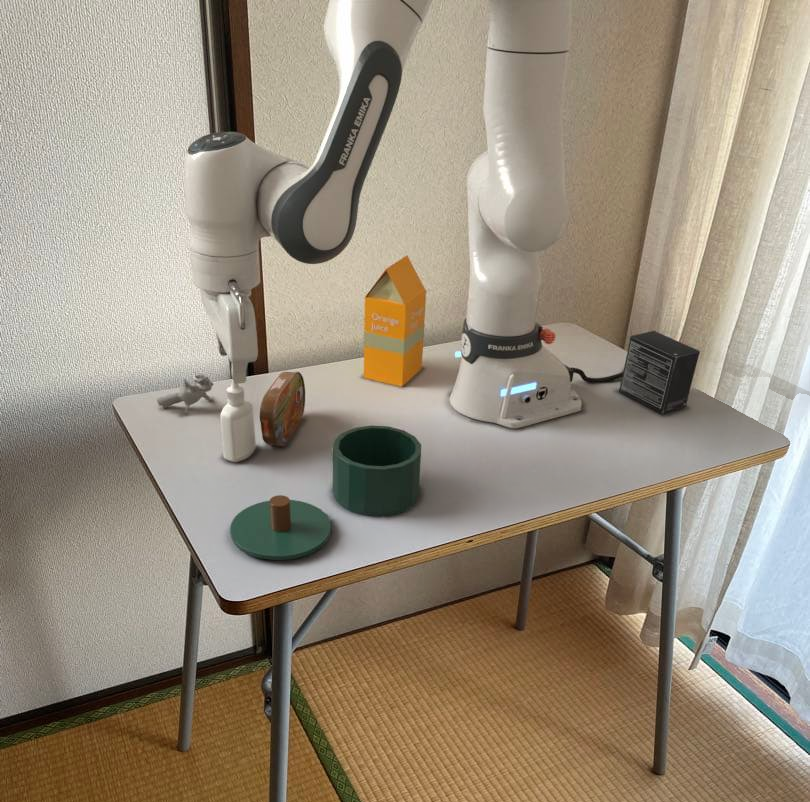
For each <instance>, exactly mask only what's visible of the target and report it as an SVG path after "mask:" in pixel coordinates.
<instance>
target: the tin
mask: <svg viewBox="0 0 810 802" xmlns="http://www.w3.org/2000/svg"><path fill="white" fill-rule="evenodd" d="M305 406H306V386H305V379H304V377H303V375H302V373H301V372H300V371H283V372H281V373H280V374H279V375H278V376H277V378H276V379H275V380H274V382H273V383H272V384H271V386H270V387H269V388H268V389H267V390H266V392H265V394H264V396H263V397H262V399H261V404H260V408H259V422H260V430H261V438H262V441H263V442H264V443H265V444H266V445H271V446H279V447H284V446H286V445H287V443H288V442H289V440H290V439H291V437H292V436H293V434H294V432H296V430H297V428H298V426H299V425H300V423H301V421H302V419H303V416H304V413H305Z"/></svg>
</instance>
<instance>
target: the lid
mask: <svg viewBox="0 0 810 802" xmlns="http://www.w3.org/2000/svg"><path fill="white" fill-rule="evenodd" d="M229 533H230V538H231V540H232V542H233V544H234V545H235V546H236V547H237V548H238V550H240V551H242V552H243V553H245V554H247V555H250V556H252V557H254V558H255V557H256V558H260V559H264V560H272V561H275V560H276V561H281V560H282V561H283V560H292V559H297V558H302V557H304V556H308V555H310V554H312V553H314V552H316V551H318V550H319V549H320V548H322V547H323V546H324V545H325V544H326V543H327V541H328V540H329V538H330V536H331V533H332V523H331V520H330V518H329V516H328V515H327V513H325V512H324V511H323V510H322V509H321V508H319V507H318V506H316V505H314V504H312V503H309V502H305V501H302V500H295V499H290V498H289V497H288V496H286V495H282V494H280V495H274V496H272V497H271V498H269V500H265V501H261V502H257V503H255V504H252V505H249V506H247V507H246V508H244V509H243V510H241V511H240V512H238V513H237V514H236V516H235V517H234V518H233V520H232V521H231V523H230V527H229Z"/></svg>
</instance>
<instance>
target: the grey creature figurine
mask: <svg viewBox="0 0 810 802" xmlns="http://www.w3.org/2000/svg"><path fill="white" fill-rule="evenodd" d="M196 373H197V372H196V371H194V373H193V376H192V379H193V381H194V383H196V384H190V383H189V382H188V381H187V379H186V378H184V379H183V384H184V385H183V386H180V388H179V391H178V392H174V393H171V394H170V393H169V394H166V395H163V396H160V397H159V396H157V397H156V402H157V404H158V406H159V407H162V409H166V408H168V407H171V406H173V405H175V404H179V403H183V402H184V404H185V411H184V413H183V415H186V413H187V411H188V409H189V407H190V406H193V405H194V404H195V403H198V401H200V400H201V399H203V398H204V399H205V400H206V401H211V397H210V396H209V395H208V394H207V392H210V391H211V390H212V388H213V386H214V383H213V382H212V381H211V380H210V378H209V377H208V376H205V375H204V374H201V373H198V374H197V375H196ZM197 384H198V385H197Z"/></svg>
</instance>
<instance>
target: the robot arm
mask: <svg viewBox="0 0 810 802" xmlns="http://www.w3.org/2000/svg"><path fill="white" fill-rule="evenodd" d="M432 3H433V0H329V2H328V5H327V8H326V13H325V17H324V21H323V33H324V34H323V35H324V39H325V43H326V47H327V50H328V52H329V55H330V56H331V58H332V60H333V62H334V64H335V67H336V70H337V75H338V82H339V89H338V90H339V91H338V96H337V97H338V98H337V102H336V104H335V108H334V110H333V113H332V115H331V118H330V121H329V123H328V126H327V129H326V131H325V134H324V136H323V139H322V141H321V144H320V147H319V149H318V151H317V155H316V157H315V159H314V161H313V163H312V164H311V166H310V167H308V166H306V165H305V164H303V163H301V162H300V161H298V160H295V159H293V158H290V157H286V156H283V155H279V154H276V153H274V152H271V151H269V150H267V149H265V148H264V147H262V146H260V145H258V144H257V143H256V142H254V141H252V140H251V139H249V138H248V137H247V136H246V135H245V134H244V133H241V132H237V131H218V132H213V133H208V134H206V135H203V136H200V137H198V138H197V139H196V140H194V141H192V142H191V143H190V145H189V146H188V148H187V149H186V153H185V159H184V169H183V170H184V172H183V175H184V176H183V179H184V180H183V181H184V203H185V212H186V213H185V214H186V216H187V219H188V221H189V225H190V235H189V241H188V249H189V260H190V269H191V270H190V271H191V272H190V273H191V282H192V284H193V285H194V286H195V288H198V289H199V290H200V298H201V302H202V306H203V309H204V312H205V314H206V315H207V317H208V319H209V321H210V323H211V326H212V327H213V330H214V332H215V337H216V341H217V350H218V353H219V354H220V356H222V357H225V356H227V357H228V359H229V362H231V367H230V377H231V379H232V380H233V382H234V383H236V384H238V385H239V384H244V383H246V382H247V370H248V365H249V363H255V362H256V361H257V360H258V356H259V346H258V333H257V322H256V315H255V309H254V305H253V303H252V301H251V299H250V298H249V297H251V295H252V289H255V288H256V287H258V285H259V284H260V283H261V269H260V250H259V249H260V246H259V242H260V240H261V239H263V238H269V237H272V238H273V239H274V240H276V241H277V243H278V244H279V245H280V246H281V247H282V248H283V250H284V251H285V252H286V253H287V254H288V255H289V256H290V257H291V258H293V259H294V260H296V261H297V262H300V263H302V264H308V265H319V264H324V263H326V262H329V261H331V260H333V259H334V258H336V257H338V256H339V255H340V254H341V253H342V252H343V251H344V250H345V249H346V248H347V247H348V245H349V243H350V242H351V240H352V239H353V236H354V233H355V230H356V226H357V222H358V221H357V219H358V211H359V203H360V197H361V193H362V190H363V187H364V183H365V181H366V178H367V176H368V173H369V171H370V168H371V166H372V163H373V160H374V158H375V156H376V153H377V151H378V147H379V145H380V143H381V140H382V138H383V135H384V132H385V130H386V127H387V125H388V122H389V121H390V120H389V119H390V117H391V115H392V112H393V108H394V107H395V104H396V101H397V98H398V94H399V91H400V87H401V82H402V79H403V73H404V69H405V65H406V63H407V59H408V56H409V54H410V51H411V49H412V47H413V44H414V42H415V40H416V37H417V35H418V34H419V31H420V29H421V27H422V24H423V23H424V20H425V18H426V16H427V15H428V11H429V10H430V7H431V6H432ZM487 4H488V9H489V24H488V32H487V45H486V60H485V74H484V75H485V77H484V90H483V102H482V112H483V119H484V123H485V124H484V125H485V131H486V144H487V150H486V151H484V152H482V153H481V154H479V155H478V156H477V157H476V158H475V159H474V161H473V162H472V164H471V165H470V167H469V169H468V172H467V174H466V193H467V216H468V217H467V226H468V227H467V228H468V231H467V232H468V250H469V251H468V252H469V283H468V296H467V306H466V309H467V310H466V317H465V319H464V320H463V324H462V333H461V339H460V351H455V353H454V356H455V358H460V364H459V368H458V372H457V376H456V380H455V383H454V386H453V387H452V388H453V389H452V391H451V393H450V396H449V400H448V401H449V404H450V406H451V407H452V408H453V409H454V410H455V411H457V413H459V414H461V415H463V416H465V417H468V418H471V419H474V420H477V421H482V422H487V423H492V424H493V423H494V424H498V425H499V426H503V427H506V428H510V429H519V428H523V427H527V426H530V425H534V424H538V423H541V422H545V421H550V420H552V419H557V418H560V417H563V416H567V415H570V414H575V413H578V412H581V411H582V408H583V407H582V406H583V405H582V404H583V403H582V398H581V397H580V395H579V394H578V393H577V391H576V390H575V389H573V388H572V387H571V383H572V382H573V379H574V374H576V375H579V376H580V378H581V379H582V381H584V382H587V383H591V384H595V383H607V382H612V381H615V380H618V379H622V376H623V371H624V369H623V370H622V371H621V372H619V373H616V374H612V375H609V376H603V377H589V376H587V375H586V373H585V372H584V370H582V369H580V368H577V367H570V366H568V365H566V364H564V363H563V362H562V361H561V359H560V358H558V357H557V356H556V355H554V353H552V352H551V351H550V350H549V349H548V348H547V347H545V346H544V345H543V343H542V341H543V342H544V343H545V344H546V345H552V344H554V342H555V341H556V338H557V336H556V333H555V332H554V331H551V330H550V329H549V328H544V327H543V325H541V324H539V323H538V322H536V320H537V313H538V306H539V299H540V291H541V283H542V272H541V267H540V263H539V252H541V251H544V250H547V249H548V248H550V247H552V246H553V245H555V243H557V242H558V241H559V240H560V239H561V237H562V236H563V234H564V232H565V231H566V228H567V226H568V223H569V218H570V207H569V200H568V197H567V191H566V183H565V182H566V181H565V151H564V131H563V128H564V127H563V124H564V123H563V119H564V102H565V93H566V85H567V76H568V65H569V58H570V48H571V38H572V23H573V22H572V21H573V20H572V19H573V0H487Z"/></svg>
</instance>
